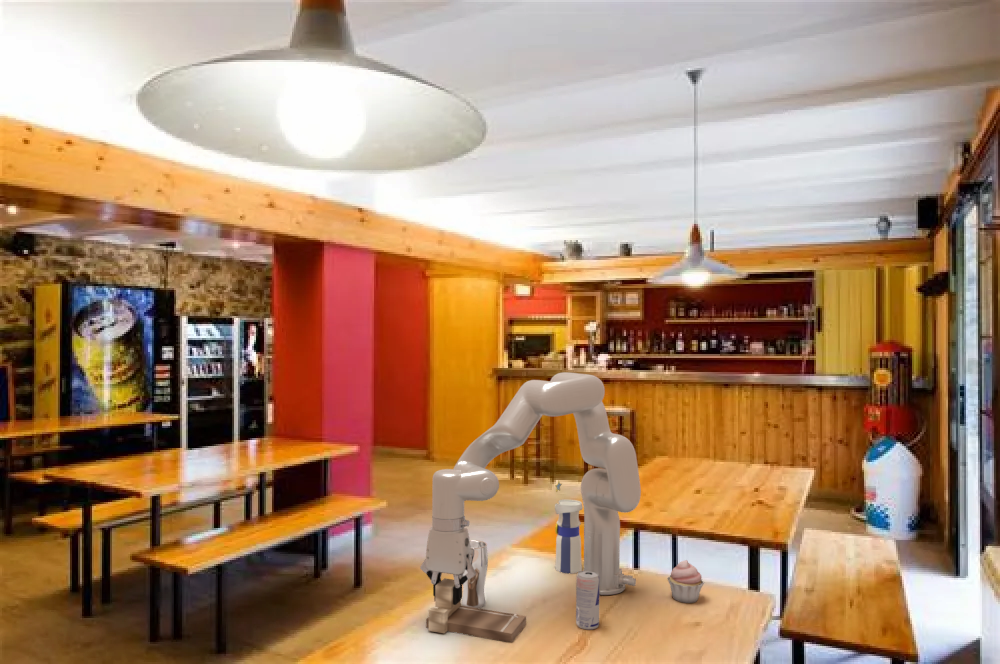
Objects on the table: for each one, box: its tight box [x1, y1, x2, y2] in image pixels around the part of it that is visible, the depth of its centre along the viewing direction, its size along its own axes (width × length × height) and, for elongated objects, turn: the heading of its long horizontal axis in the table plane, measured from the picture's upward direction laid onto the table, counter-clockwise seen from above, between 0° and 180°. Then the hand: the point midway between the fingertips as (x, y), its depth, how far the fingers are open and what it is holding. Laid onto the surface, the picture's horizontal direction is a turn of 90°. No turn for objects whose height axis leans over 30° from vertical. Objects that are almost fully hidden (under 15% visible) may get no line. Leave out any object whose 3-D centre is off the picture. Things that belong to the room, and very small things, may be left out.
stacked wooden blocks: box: [428, 577, 462, 634], centre depth 158 cm, size 4×11×9 cm, turn 160°
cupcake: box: [667, 559, 705, 604], centre depth 174 cm, size 9×9×10 cm
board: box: [425, 605, 527, 643], centre depth 157 cm, size 21×10×2 cm, turn 69°
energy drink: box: [575, 569, 600, 631], centre depth 158 cm, size 5×5×12 cm
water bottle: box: [554, 480, 584, 575], centre depth 195 cm, size 8×9×25 cm
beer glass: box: [461, 539, 489, 609], centre depth 170 cm, size 7×7×15 cm
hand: (447, 600), depth 158 cm, fingers closed on stacked wooden blocks, 4 cm apart
